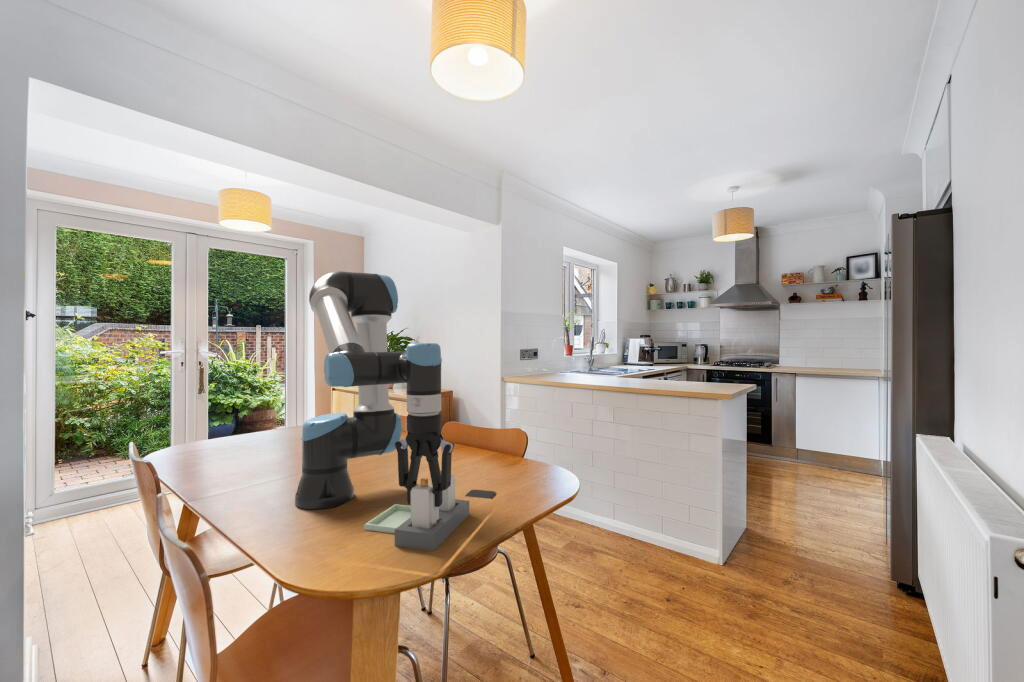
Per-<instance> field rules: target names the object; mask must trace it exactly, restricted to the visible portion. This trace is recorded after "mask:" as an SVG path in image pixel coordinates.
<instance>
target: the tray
mask: <svg viewBox="0 0 1024 682" xmlns="http://www.w3.org/2000/svg"><path fill="white" fill-rule="evenodd" d="M410 517H411V505H410V504H398V503H395V504H393V505H392V506H390V507H389V508H387V509H386V510H384V511H382V512H380V513H379V514H378V515H376V516H375V517H373V518H372V519H370V520H369V521H367V522H366V523H364V524H363V525H364V530H365V531H372V532H380V533H389V534H394V535H395V529H396V528H397V527H399V526H400V525H401V524H403V523H404V522H405V521H406V520H408V519H409V518H410Z"/></svg>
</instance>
